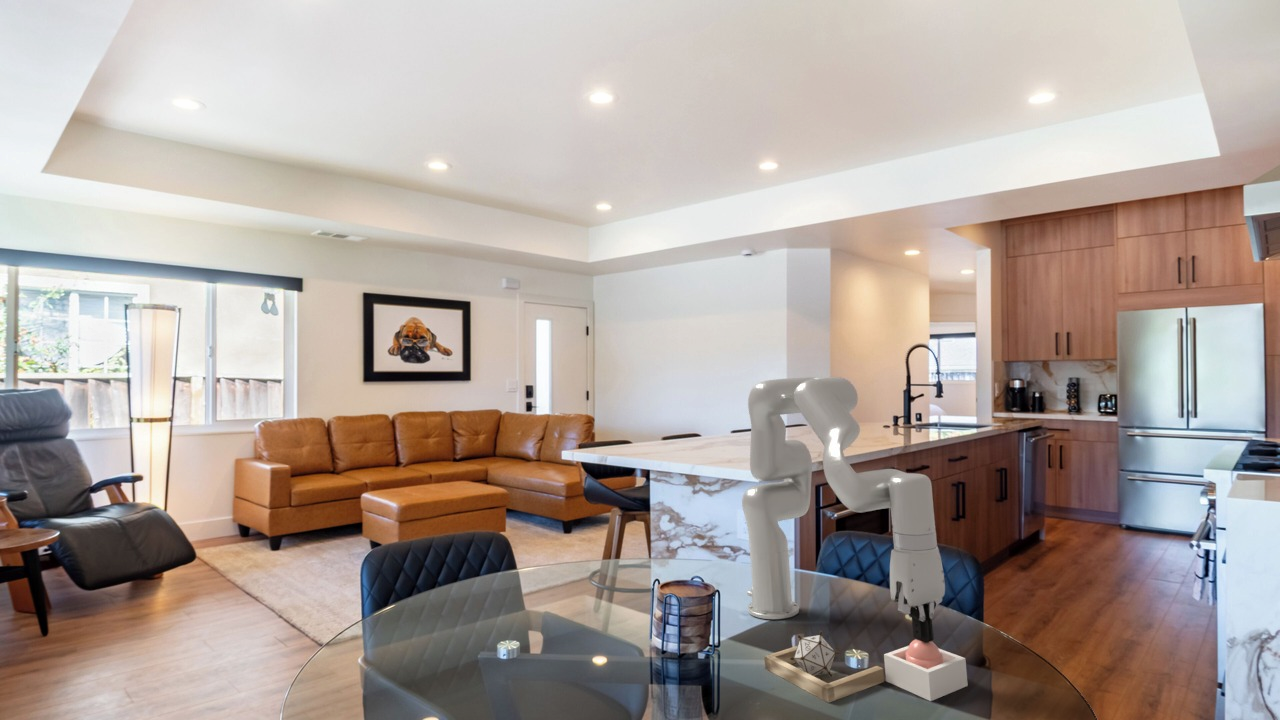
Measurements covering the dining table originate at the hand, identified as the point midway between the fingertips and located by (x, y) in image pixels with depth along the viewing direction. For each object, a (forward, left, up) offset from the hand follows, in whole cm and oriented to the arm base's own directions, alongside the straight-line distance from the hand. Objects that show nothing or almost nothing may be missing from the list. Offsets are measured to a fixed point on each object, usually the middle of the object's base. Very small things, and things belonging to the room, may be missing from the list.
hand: (923, 639), depth 126 cm
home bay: (-14, -12, -8) cm, 21 cm away
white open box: (0, 0, -8) cm, 8 cm away
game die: (-15, -14, -8) cm, 22 cm away
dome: (0, 0, -6) cm, 6 cm away
